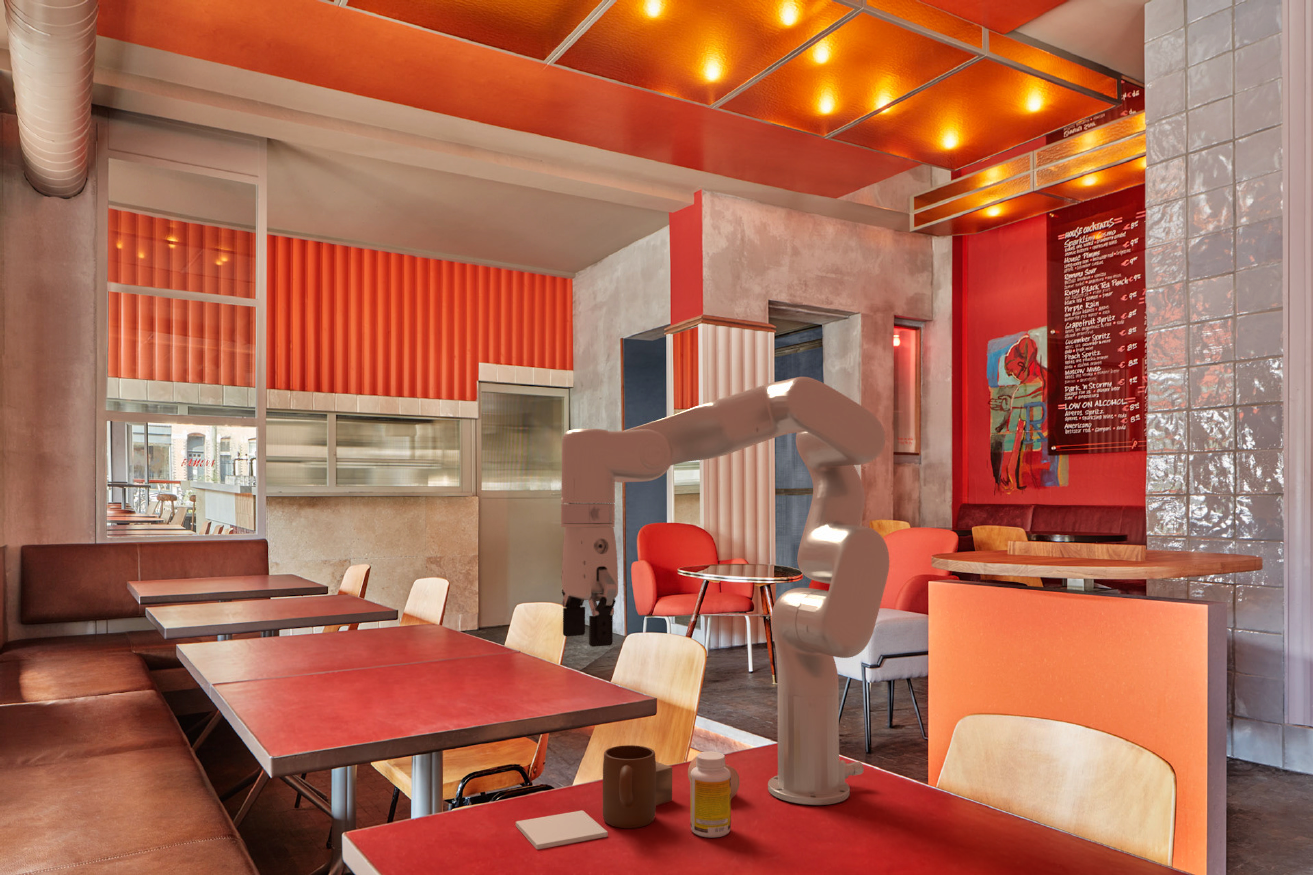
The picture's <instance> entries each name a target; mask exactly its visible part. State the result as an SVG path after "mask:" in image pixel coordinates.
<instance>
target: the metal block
mask: <svg viewBox="0 0 1313 875" xmlns="http://www.w3.org/2000/svg"><path fill="white" fill-rule="evenodd" d="M671 801H673V766H670V765H668V764H664V763H661V762H658V761H656V806H659V805H661V804H665V803H668V802H671Z"/></svg>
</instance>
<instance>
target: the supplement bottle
mask: <svg viewBox="0 0 1313 875" xmlns="http://www.w3.org/2000/svg"><path fill="white" fill-rule="evenodd" d="M696 756H697V762H696V766H697V767H695V768H693V769H692V771H691V783H690V798H689V799H690V801H689V802H690V811H689V812H690V816H689V817H690V830H691V832H693V833H694V834H695V835H696V836H699V837H702V838H703V837H704V838H710V839H711V838H721V837H724V836H727V835H728V834H729V832H731V823H732V819H731V818H732V816H731V814H732V813H731V812H732V811H731V810H732V808H731V807H732V802H731V801H732V799H731V773H730V771H729V770H728V769H727V768H725V764H726V756H725V754H724V753H722V752H719V751H702V752H699V753H697V754H696Z"/></svg>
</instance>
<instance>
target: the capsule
mask: <svg viewBox="0 0 1313 875" xmlns="http://www.w3.org/2000/svg"><path fill="white" fill-rule="evenodd" d="M696 762H697V755H695V757H694V758H693V759H692V760H691V761H690V763H689V766H688V770H687V777H688V781H689V782H690V784H691V771H692V769H693V768H695V767H697V766H696ZM725 768H727V769H728V770H729V771H730V773H731V800H732V799H733V798H734V797H735V795H736V794H737V792H738V790H739V788H740V781H741V780H740V776H739V772H738V771H737V770H736V769H735V768H734V767H732V766H730V765H728V764H726V763H725Z"/></svg>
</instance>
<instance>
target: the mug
mask: <svg viewBox="0 0 1313 875" xmlns="http://www.w3.org/2000/svg"><path fill="white" fill-rule="evenodd" d="M656 762H657V761H656V753H655V751H654V749H653V748H650V747H647V746H642V745H633V744H630V745H629V744H627V745H625V744H624V745H617V746H613V747H609V748H607V749H605V751H604V753H603V761H602V818H603V820H604V821H605V823H607V825H609V826H612V827H614V828H615V827H616V828H618V829H637V828H643V827H646V826H648V825H651V823H653V822H654V820H655V818H656V809H657V808H656V806H657V805H656Z"/></svg>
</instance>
